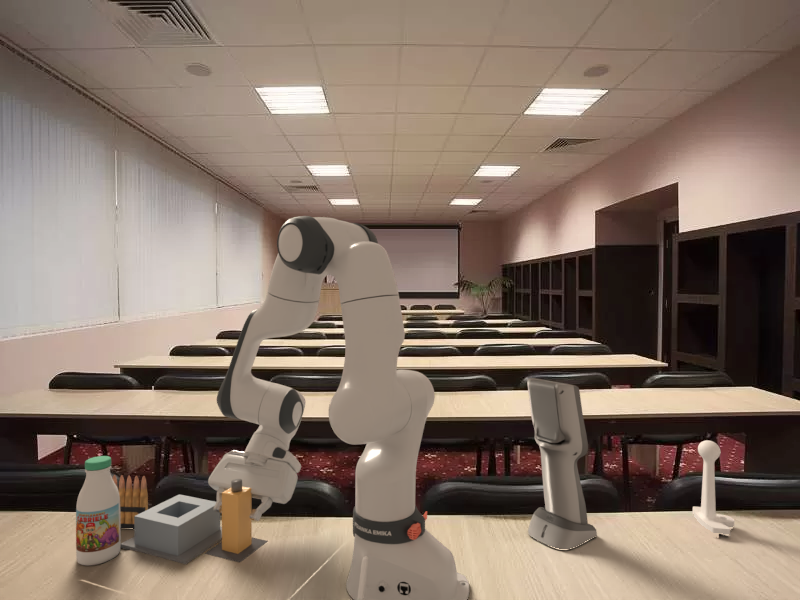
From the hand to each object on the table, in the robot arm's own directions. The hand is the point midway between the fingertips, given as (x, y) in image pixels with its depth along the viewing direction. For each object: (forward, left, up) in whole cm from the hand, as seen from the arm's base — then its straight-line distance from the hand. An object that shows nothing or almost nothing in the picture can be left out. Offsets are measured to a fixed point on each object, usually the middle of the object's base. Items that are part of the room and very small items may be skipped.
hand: (235, 515), depth 103 cm
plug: (0, 0, -7) cm, 7 cm away
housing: (+14, +2, -7) cm, 16 cm away
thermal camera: (-63, -32, -7) cm, 71 cm away
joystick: (-96, -49, -7) cm, 108 cm away
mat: (0, 0, -7) cm, 7 cm away
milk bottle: (+24, +13, -7) cm, 28 cm away
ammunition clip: (+30, +2, -7) cm, 31 cm away
